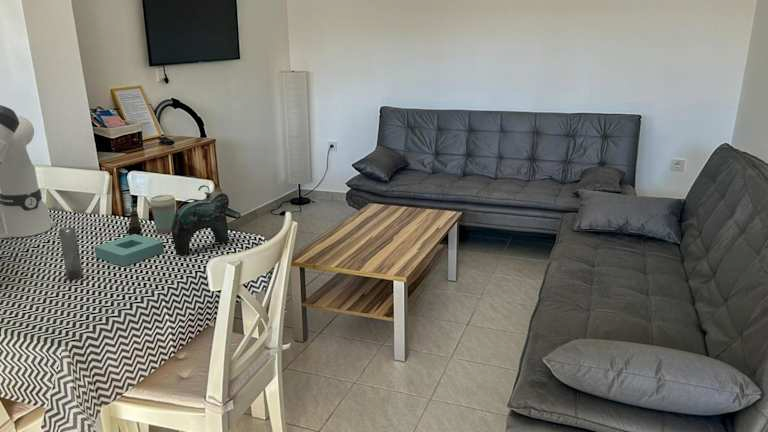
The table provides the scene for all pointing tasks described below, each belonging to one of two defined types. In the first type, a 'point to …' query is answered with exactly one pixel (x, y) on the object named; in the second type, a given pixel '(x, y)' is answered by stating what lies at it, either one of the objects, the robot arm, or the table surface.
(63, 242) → the steel pin
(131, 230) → the hand tool
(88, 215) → the table surface
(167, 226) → the coffee cup
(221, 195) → the ceramic cat
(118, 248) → the socket block
